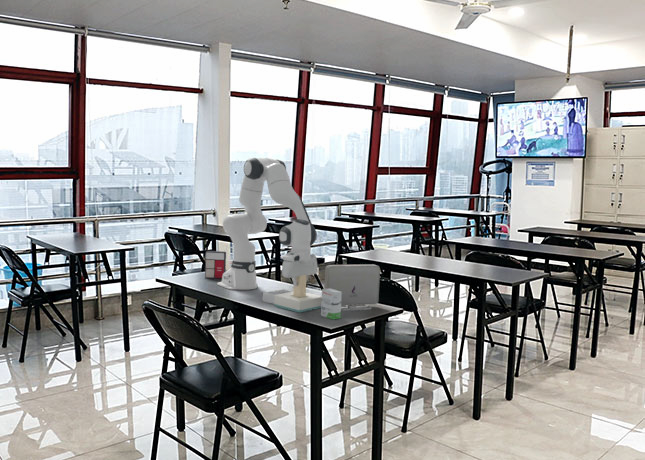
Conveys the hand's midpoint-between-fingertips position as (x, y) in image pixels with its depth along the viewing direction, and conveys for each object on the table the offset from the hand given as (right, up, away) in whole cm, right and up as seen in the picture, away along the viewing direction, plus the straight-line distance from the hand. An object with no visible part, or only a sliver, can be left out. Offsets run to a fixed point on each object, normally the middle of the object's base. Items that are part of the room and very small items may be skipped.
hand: (299, 285), depth 272 cm
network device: (+24, -11, +3) cm, 26 cm away
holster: (-10, -8, +12) cm, 18 cm away
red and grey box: (-50, -2, +64) cm, 81 cm away
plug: (0, -5, 0) cm, 5 cm away
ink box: (+14, -12, -16) cm, 24 cm away
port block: (0, -10, +1) cm, 10 cm away
